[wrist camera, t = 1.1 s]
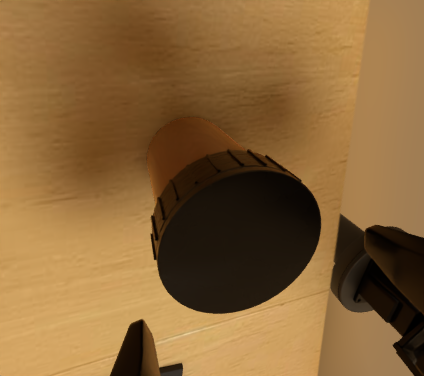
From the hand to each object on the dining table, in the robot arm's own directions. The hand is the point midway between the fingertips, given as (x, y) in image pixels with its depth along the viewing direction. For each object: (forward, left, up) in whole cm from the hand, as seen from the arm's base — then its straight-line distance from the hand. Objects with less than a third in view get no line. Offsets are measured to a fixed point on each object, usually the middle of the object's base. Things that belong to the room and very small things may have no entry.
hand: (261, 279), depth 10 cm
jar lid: (0, 0, -2) cm, 2 cm away
